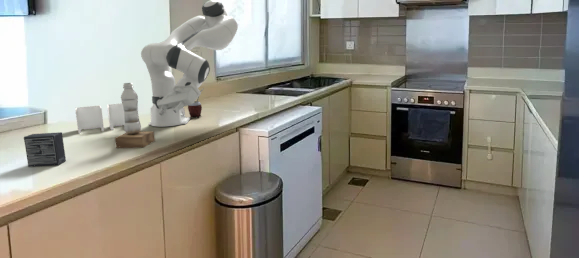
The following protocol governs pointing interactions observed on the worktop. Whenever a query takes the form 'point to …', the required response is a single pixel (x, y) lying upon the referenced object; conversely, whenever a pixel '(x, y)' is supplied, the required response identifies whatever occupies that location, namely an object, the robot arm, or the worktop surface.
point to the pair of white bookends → (99, 117)
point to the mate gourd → (195, 108)
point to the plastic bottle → (130, 109)
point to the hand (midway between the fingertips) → (167, 113)
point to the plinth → (135, 140)
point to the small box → (44, 149)
